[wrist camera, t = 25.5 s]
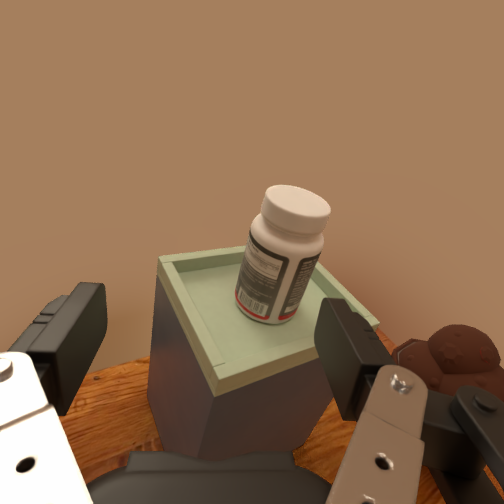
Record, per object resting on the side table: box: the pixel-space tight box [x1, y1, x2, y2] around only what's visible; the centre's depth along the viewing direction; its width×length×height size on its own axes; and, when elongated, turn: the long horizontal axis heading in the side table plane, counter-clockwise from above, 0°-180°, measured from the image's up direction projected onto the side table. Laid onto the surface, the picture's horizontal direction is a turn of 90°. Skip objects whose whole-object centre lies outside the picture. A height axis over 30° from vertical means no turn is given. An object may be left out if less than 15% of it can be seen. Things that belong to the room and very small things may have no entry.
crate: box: [147, 275, 334, 461], centre depth 29 cm, size 13×11×16 cm
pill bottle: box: [235, 185, 331, 324], centre depth 22 cm, size 5×5×8 cm
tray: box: [157, 246, 380, 397], centre depth 24 cm, size 13×11×2 cm
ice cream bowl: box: [391, 325, 504, 402], centre depth 32 cm, size 11×11×15 cm
